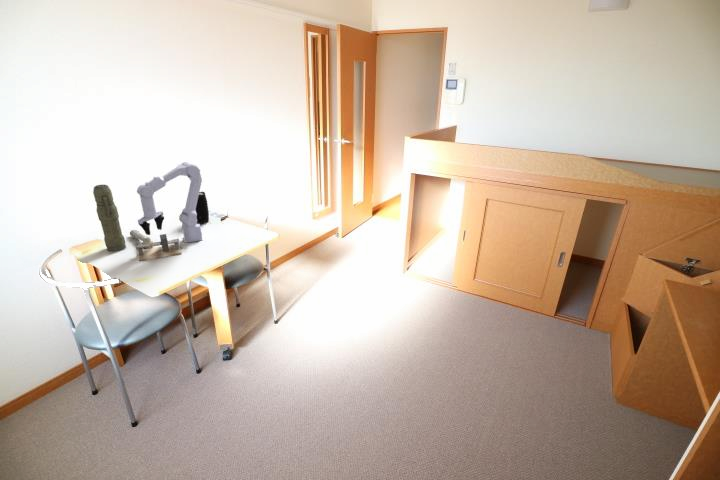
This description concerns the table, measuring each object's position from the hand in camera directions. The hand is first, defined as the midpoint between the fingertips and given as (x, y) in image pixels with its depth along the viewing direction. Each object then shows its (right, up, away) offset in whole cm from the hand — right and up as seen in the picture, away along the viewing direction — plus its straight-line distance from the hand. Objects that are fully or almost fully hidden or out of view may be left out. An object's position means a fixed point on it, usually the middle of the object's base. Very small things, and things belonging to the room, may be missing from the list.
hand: (154, 231), depth 195 cm
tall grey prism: (+6, -9, 0) cm, 11 cm away
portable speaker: (+7, +7, +43) cm, 44 cm away
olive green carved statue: (-22, -9, +3) cm, 24 cm away
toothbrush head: (-14, -6, +12) cm, 19 cm away
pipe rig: (+3, -11, 0) cm, 12 cm away
